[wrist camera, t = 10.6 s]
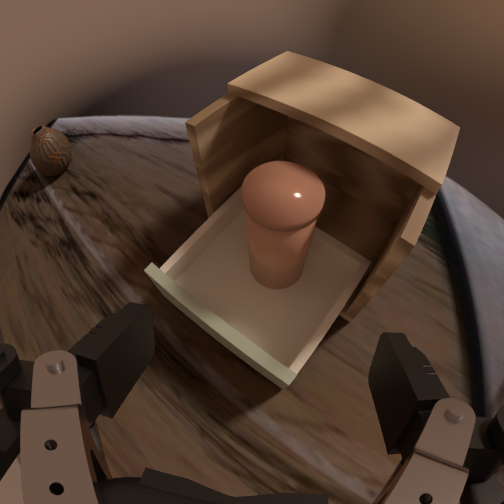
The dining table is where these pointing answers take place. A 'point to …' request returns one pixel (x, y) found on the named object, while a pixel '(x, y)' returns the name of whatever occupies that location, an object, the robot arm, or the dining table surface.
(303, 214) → the canister
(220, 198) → the housing
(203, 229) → the tray
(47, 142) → the vase
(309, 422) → the dining table surface
